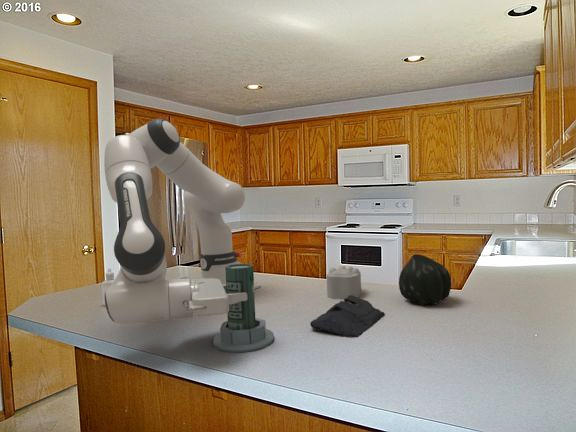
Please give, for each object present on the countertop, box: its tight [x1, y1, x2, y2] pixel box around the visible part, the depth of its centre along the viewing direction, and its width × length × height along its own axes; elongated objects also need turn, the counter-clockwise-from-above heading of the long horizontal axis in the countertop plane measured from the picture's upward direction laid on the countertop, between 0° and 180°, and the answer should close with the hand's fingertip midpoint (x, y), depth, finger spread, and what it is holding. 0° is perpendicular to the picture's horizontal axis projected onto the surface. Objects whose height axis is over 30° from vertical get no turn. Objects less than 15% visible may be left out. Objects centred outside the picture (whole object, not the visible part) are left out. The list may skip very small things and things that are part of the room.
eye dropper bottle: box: [100, 268, 115, 307], centre depth 136 cm, size 4×6×12 cm
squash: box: [398, 253, 452, 306], centre depth 122 cm, size 14×15×15 cm
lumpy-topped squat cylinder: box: [326, 265, 362, 300], centre depth 135 cm, size 10×13×9 cm
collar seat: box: [213, 317, 275, 354], centre depth 97 cm, size 14×14×4 cm
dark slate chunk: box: [309, 295, 386, 338], centre depth 107 cm, size 15×22×5 cm
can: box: [225, 263, 256, 330], centre depth 96 cm, size 6×6×15 cm
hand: (244, 291), depth 96 cm, fingers closed on can, 6 cm apart
